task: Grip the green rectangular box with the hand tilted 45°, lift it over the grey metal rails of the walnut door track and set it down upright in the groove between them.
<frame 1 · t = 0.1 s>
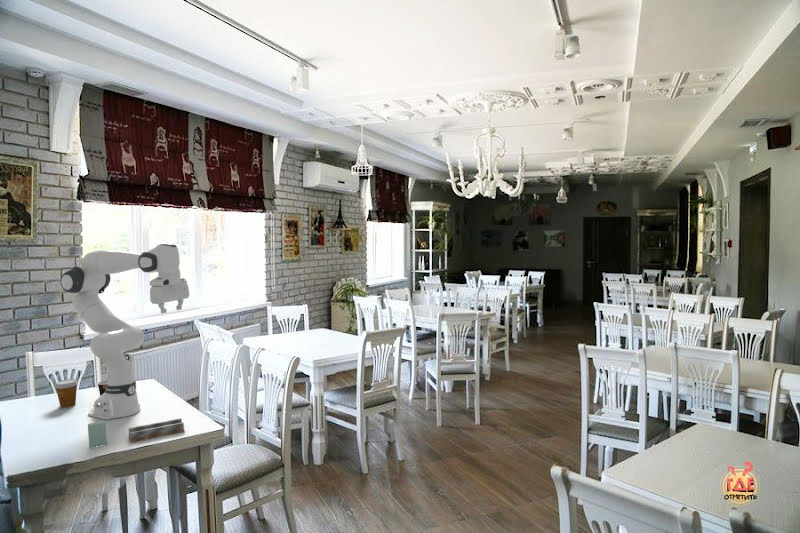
hand: (171, 311, 232), 48 cm above the table, tool pointing down, fingers open, 8 cm apart
door track: (156, 433, 217), on the table
coffee mug: (107, 403, 260), on the table
disposable coffee cup: (67, 406, 258), on the table
green rectangular box: (98, 445, 207), on the table
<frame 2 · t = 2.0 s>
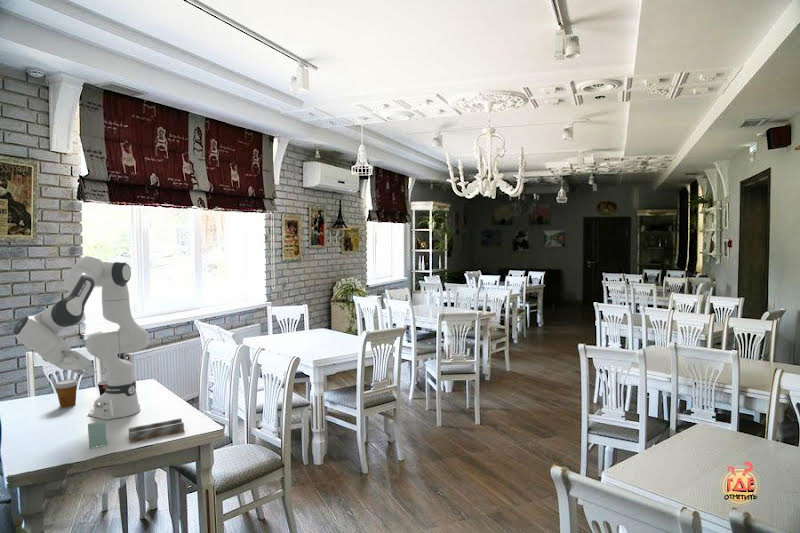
hand: (88, 373, 201), 30 cm above the table, tool tilted 40°, fingers open, 8 cm apart
nothing on the table moved.
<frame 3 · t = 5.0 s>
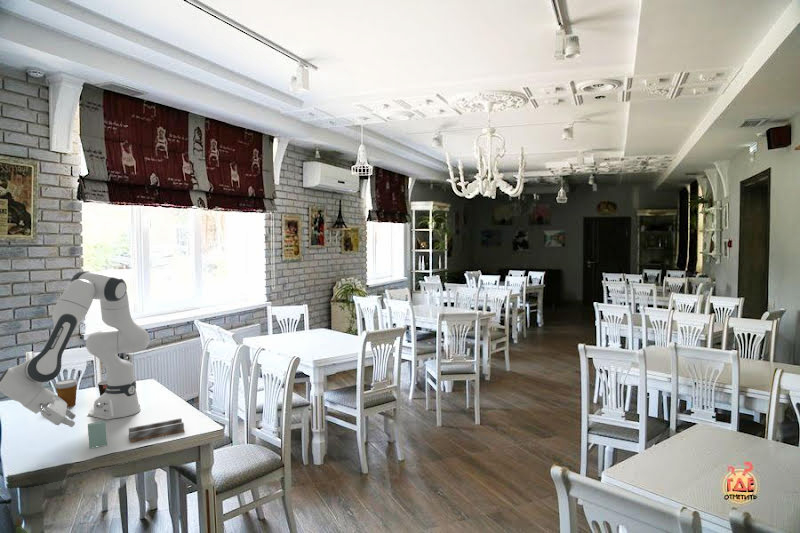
hand: (74, 421, 202), 11 cm above the table, tool tilted 45°, fingers open, 8 cm apart
nothing on the table moved.
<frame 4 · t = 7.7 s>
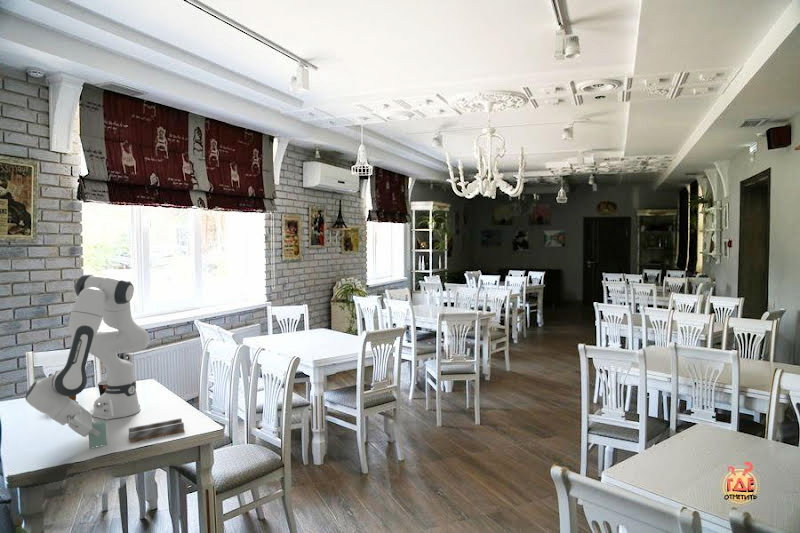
hand: (99, 432, 207), 5 cm above the table, tool tilted 45°, fingers closed on green rectangular box, 3 cm apart
green rectangular box: (98, 445, 207), on the table, touching gripper
everything else where it was.
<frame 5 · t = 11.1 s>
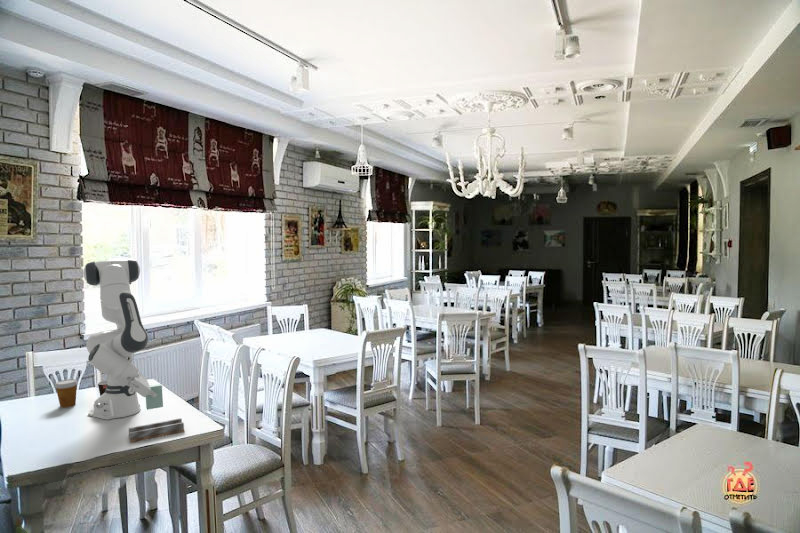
hand: (155, 394, 217), 16 cm above the table, tool tilted 45°, fingers closed on green rectangular box, 2 cm apart
green rectangular box: (154, 407, 217), point 11 cm above the table, touching gripper
everything else where it was.
when the fingers open (8 cm above the table, at t = 14.1 s): green rectangular box drops 1 cm, resting on door track.
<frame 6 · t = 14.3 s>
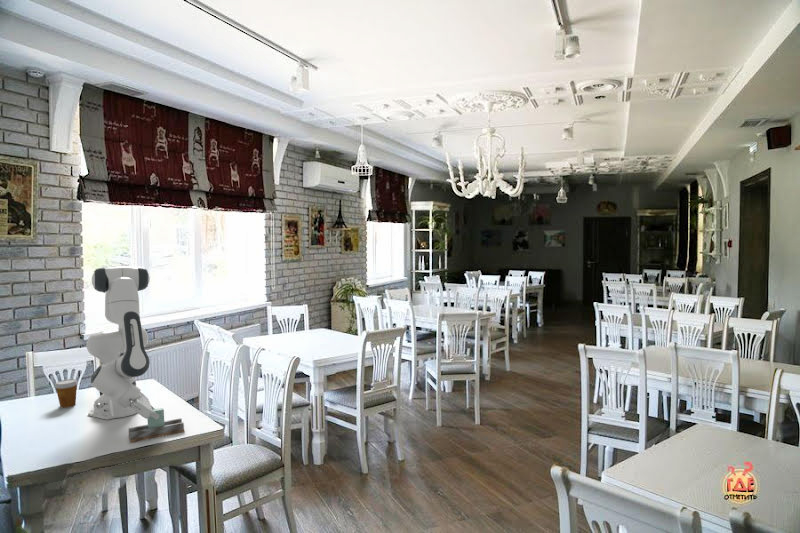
hand: (157, 415, 217), 8 cm above the table, tool tilted 45°, fingers open, 5 cm apart
green rectangular box: (156, 431, 217), point 1 cm above the table, touching door track
everything else where it was.
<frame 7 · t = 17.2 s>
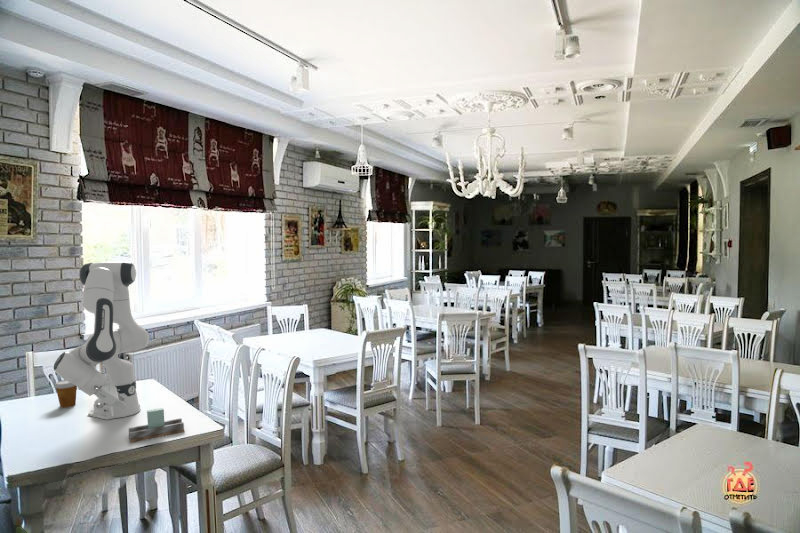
hand: (124, 403, 211), 15 cm above the table, tool tilted 45°, fingers open, 8 cm apart
nothing on the table moved.
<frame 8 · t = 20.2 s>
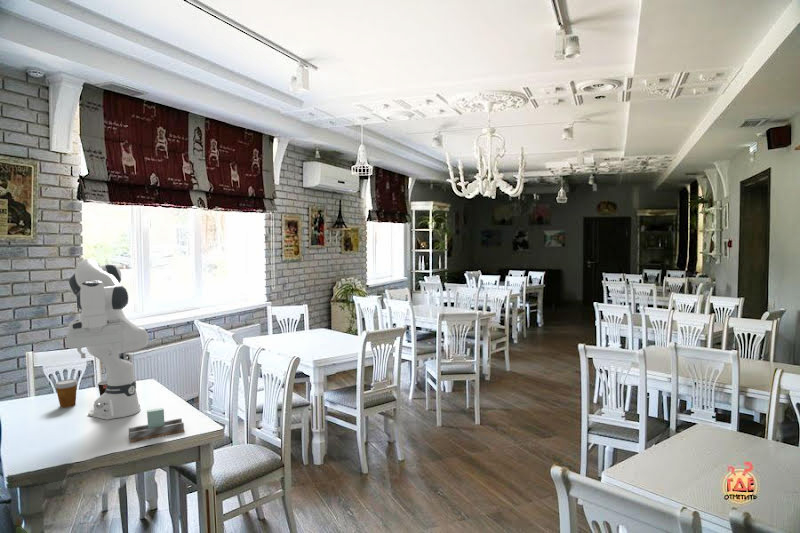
hand: (97, 356, 210), 34 cm above the table, tool pointing down, fingers open, 8 cm apart
nothing on the table moved.
at the end: green rectangular box inside the target area on the door track (0.0 cm from its centre), point 1.0 cm above the door track's base; green rectangular box tilted 0°; the gripper is holding nothing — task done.
